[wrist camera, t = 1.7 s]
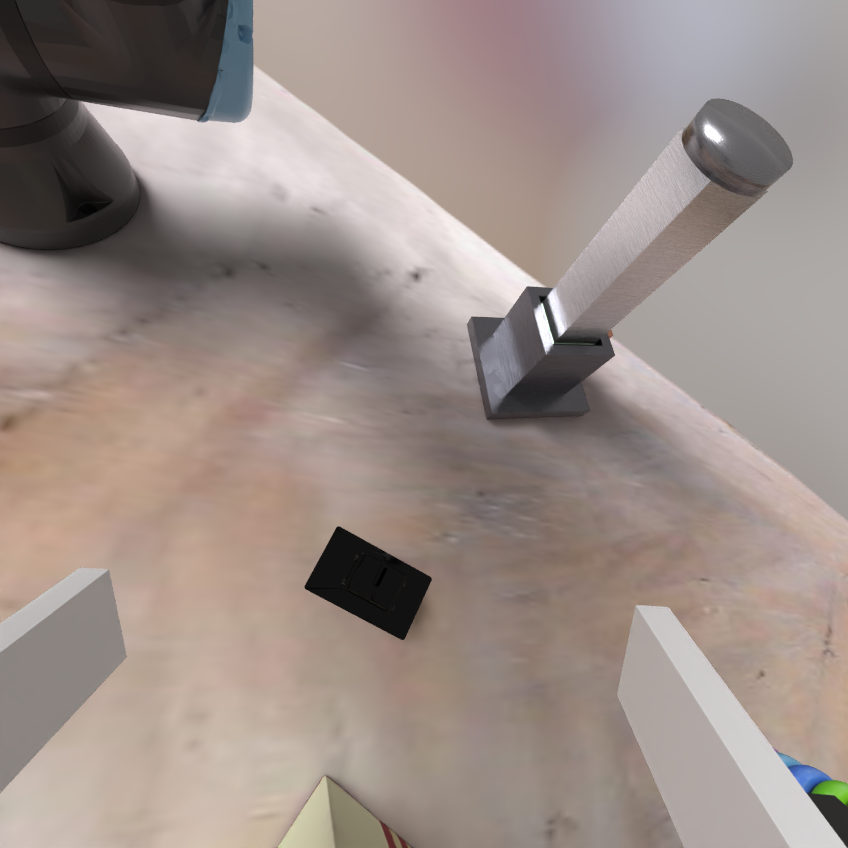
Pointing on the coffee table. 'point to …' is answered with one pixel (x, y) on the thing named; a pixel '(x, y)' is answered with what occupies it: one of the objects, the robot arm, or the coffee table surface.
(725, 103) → the stand post
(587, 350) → the stand base
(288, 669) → the coffee table surface
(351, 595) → the black rectangular block
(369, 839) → the gift box
